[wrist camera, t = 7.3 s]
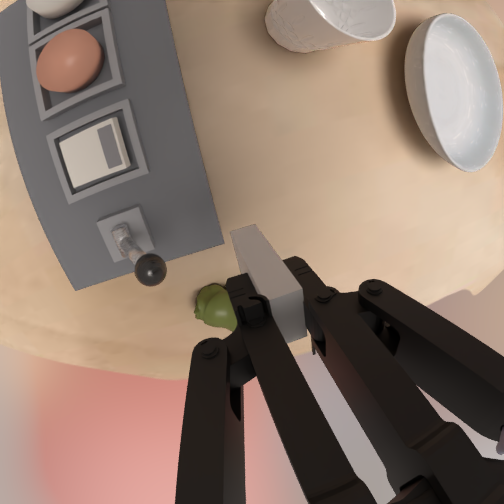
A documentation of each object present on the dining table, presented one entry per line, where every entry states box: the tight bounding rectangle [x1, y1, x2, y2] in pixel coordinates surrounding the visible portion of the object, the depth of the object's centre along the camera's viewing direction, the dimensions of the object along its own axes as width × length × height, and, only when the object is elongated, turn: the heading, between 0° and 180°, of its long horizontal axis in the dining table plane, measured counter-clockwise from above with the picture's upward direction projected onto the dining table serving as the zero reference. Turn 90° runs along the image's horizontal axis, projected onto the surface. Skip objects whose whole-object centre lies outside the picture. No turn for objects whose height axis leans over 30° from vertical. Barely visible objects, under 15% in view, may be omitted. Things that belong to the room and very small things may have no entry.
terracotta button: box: [36, 29, 104, 93], centre depth 13 cm, size 5×5×3 cm
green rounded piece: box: [194, 285, 237, 332], centre depth 31 cm, size 6×5×10 cm
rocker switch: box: [59, 117, 131, 188], centre depth 17 cm, size 5×4×1 cm
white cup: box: [264, 0, 396, 53], centre depth 15 cm, size 8×8×10 cm
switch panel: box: [0, 0, 225, 291], centre depth 17 cm, size 16×31×5 cm, turn 12°
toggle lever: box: [111, 223, 167, 286], centre depth 18 cm, size 2×2×8 cm
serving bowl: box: [404, 13, 503, 172], centre depth 23 cm, size 21×21×7 cm
